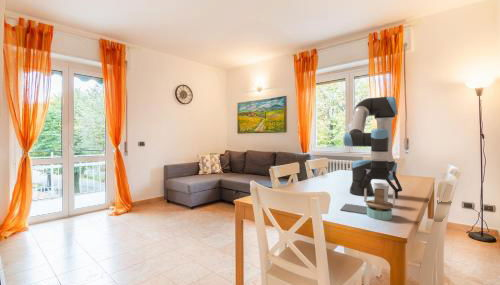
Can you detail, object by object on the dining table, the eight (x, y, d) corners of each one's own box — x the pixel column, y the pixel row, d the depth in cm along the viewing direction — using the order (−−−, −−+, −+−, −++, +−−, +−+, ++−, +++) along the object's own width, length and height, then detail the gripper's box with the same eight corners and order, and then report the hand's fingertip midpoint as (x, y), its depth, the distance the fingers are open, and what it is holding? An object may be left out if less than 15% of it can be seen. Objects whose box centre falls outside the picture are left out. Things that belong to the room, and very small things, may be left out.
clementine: (376, 213, 123) (376, 207, 123) (382, 214, 121) (382, 208, 121) (375, 214, 120) (375, 209, 120) (382, 216, 119) (382, 209, 119)
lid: (367, 200, 129) (367, 185, 129) (393, 203, 123) (394, 188, 122) (364, 206, 119) (364, 190, 119) (392, 210, 113) (392, 193, 112)
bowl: (368, 211, 128) (368, 204, 128) (392, 215, 122) (392, 207, 122) (365, 217, 119) (365, 209, 119) (391, 221, 113) (391, 213, 113)
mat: (345, 204, 141) (345, 203, 141) (370, 208, 134) (370, 206, 134) (340, 210, 130) (340, 209, 130) (366, 214, 123) (366, 213, 123)
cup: (391, 207, 135) (391, 186, 135) (375, 206, 137) (375, 185, 136) (386, 203, 143) (386, 183, 142) (371, 202, 144) (371, 182, 144)
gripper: (351, 159, 123) (351, 201, 124) (408, 162, 110) (408, 209, 111) (354, 158, 130) (354, 198, 131) (408, 160, 116) (408, 204, 117)
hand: (379, 203), depth 121 cm, fingers closed on lid, 12 cm apart
